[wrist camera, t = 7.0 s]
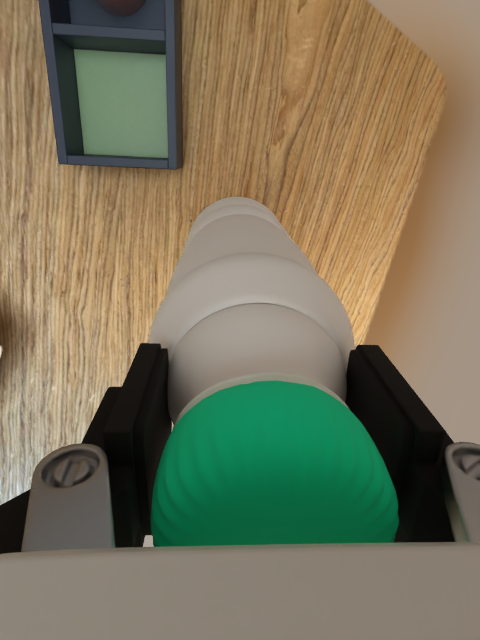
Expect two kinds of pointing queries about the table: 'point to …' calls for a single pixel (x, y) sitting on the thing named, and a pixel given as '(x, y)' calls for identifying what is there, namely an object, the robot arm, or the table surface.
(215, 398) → the water bottle
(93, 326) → the table surface
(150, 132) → the divided storage box
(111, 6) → the spice jar
